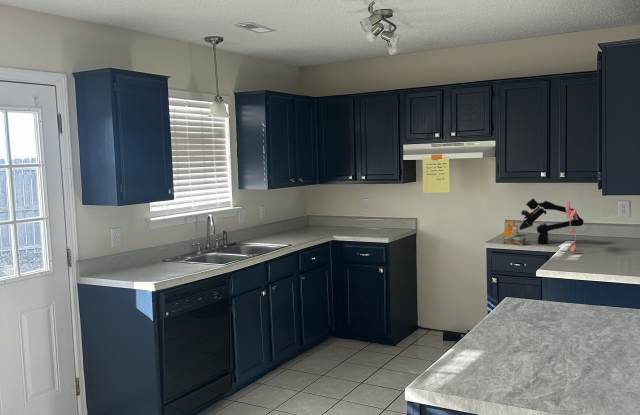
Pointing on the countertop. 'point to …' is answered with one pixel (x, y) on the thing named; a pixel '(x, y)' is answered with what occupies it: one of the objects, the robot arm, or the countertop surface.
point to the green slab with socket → (514, 240)
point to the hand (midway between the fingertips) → (519, 228)
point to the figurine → (570, 215)
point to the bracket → (508, 229)
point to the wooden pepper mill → (515, 231)
